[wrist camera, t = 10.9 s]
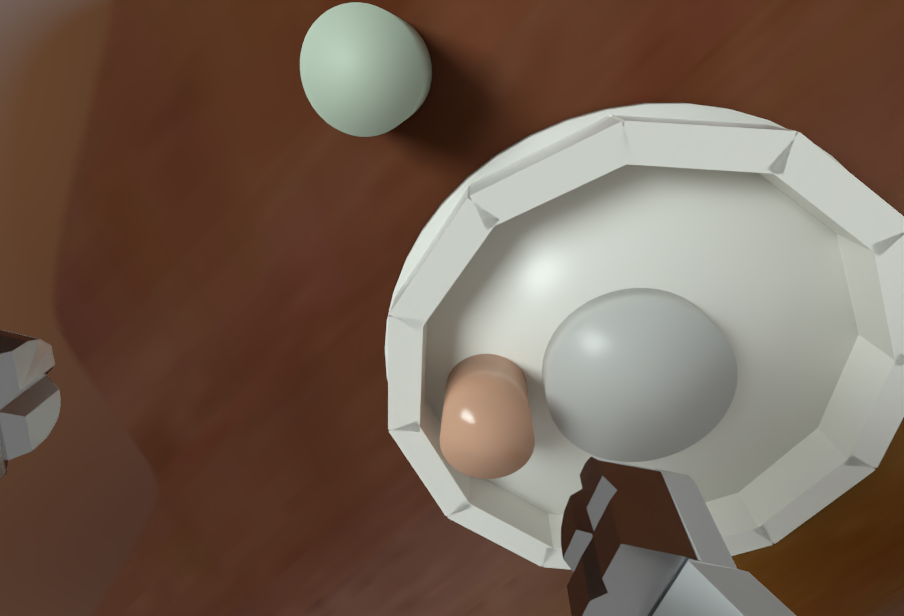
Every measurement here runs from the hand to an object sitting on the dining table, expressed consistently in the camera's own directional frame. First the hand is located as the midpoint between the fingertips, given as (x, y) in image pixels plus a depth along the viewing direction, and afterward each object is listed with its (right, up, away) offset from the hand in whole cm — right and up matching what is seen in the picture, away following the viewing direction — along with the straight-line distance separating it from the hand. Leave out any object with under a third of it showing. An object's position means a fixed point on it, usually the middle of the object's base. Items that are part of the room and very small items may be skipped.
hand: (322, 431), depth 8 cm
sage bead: (-1, +12, +15) cm, 19 cm away
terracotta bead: (+4, -3, +20) cm, 21 cm away
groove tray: (+11, -1, +20) cm, 23 cm away
